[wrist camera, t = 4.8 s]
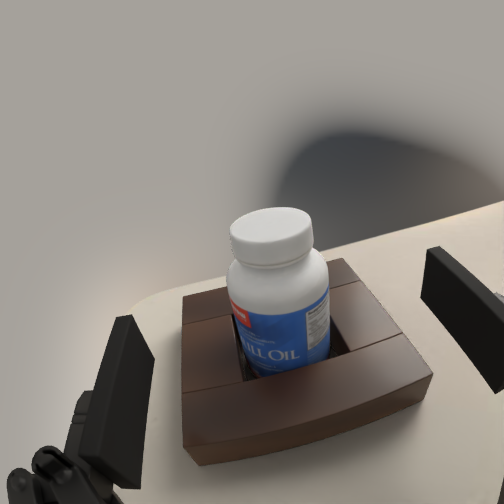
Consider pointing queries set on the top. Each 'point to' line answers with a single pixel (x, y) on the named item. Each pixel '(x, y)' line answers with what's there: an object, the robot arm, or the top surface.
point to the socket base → (292, 377)
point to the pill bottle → (279, 291)
